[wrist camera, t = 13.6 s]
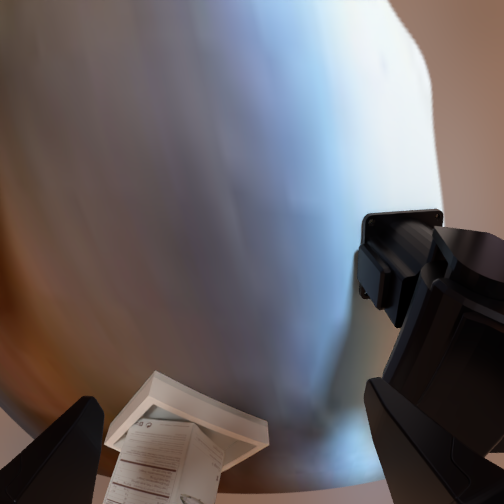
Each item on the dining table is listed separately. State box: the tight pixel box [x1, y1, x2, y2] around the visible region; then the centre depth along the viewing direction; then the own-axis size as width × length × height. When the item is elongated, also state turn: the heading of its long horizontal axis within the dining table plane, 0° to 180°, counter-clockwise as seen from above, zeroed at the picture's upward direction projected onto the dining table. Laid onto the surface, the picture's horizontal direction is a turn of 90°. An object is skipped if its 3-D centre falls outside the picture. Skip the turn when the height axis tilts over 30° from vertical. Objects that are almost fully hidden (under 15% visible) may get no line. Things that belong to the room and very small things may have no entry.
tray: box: [104, 370, 269, 472], centre depth 28 cm, size 13×13×3 cm
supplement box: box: [103, 418, 225, 504], centre depth 22 cm, size 7×7×13 cm
